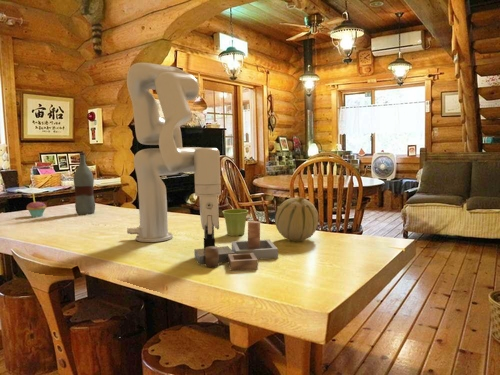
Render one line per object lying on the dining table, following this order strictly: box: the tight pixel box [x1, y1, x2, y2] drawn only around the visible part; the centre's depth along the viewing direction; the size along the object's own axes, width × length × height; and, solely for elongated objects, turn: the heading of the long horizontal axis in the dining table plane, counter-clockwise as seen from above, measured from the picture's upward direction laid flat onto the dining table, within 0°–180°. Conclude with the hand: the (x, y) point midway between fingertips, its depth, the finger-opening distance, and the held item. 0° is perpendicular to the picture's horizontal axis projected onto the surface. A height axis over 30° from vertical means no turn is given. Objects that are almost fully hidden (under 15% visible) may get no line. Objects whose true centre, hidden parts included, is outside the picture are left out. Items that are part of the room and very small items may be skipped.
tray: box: [231, 239, 279, 260], centre depth 122 cm, size 12×12×3 cm
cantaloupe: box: [274, 196, 320, 242], centre depth 138 cm, size 15×15×15 cm
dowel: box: [247, 220, 261, 250], centre depth 122 cm, size 4×4×9 cm
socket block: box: [227, 253, 259, 272], centre depth 110 cm, size 7×7×2 cm
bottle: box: [73, 152, 96, 216], centre depth 202 cm, size 9×9×30 cm
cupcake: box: [26, 193, 47, 218], centre depth 197 cm, size 9×8×12 cm
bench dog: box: [205, 245, 220, 269], centre depth 111 cm, size 4×4×5 cm
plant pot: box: [221, 208, 249, 237], centre depth 149 cm, size 9×9×9 cm
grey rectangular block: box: [193, 245, 235, 266], centre depth 117 cm, size 10×8×3 cm
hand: (209, 251), depth 122 cm, fingers closed
